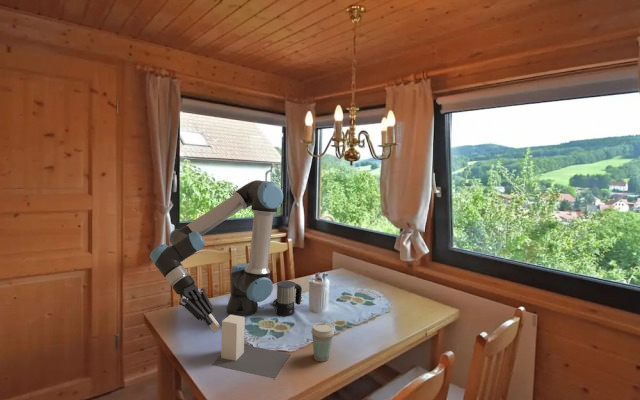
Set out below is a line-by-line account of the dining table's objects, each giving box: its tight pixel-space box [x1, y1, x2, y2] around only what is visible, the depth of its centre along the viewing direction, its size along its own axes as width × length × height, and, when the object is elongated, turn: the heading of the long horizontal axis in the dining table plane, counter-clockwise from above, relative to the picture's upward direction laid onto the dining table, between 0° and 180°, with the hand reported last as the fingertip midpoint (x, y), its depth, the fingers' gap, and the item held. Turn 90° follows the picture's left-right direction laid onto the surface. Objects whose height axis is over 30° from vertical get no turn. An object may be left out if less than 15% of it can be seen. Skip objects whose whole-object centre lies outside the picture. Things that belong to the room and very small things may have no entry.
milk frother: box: [272, 280, 303, 317], centre depth 170 cm, size 14×16×15 cm
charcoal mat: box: [211, 344, 291, 380], centre depth 124 cm, size 24×16×1 cm, turn 75°
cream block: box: [220, 314, 246, 361], centre depth 126 cm, size 6×6×14 cm
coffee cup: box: [311, 322, 335, 362], centre depth 128 cm, size 8×9×12 cm
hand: (217, 329), depth 127 cm, fingers closed
